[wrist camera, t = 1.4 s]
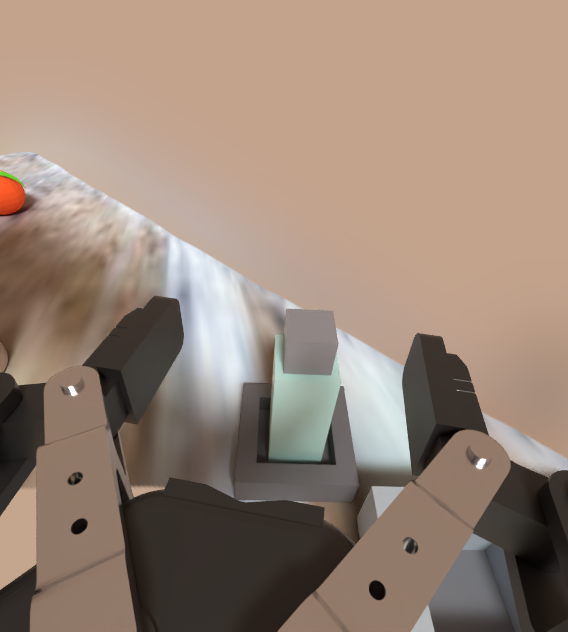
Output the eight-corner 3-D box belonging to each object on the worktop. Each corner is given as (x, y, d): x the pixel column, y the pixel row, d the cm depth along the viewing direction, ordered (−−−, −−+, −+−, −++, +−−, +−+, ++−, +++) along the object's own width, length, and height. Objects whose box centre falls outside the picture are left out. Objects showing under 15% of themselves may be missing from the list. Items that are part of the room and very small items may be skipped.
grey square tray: (234, 499, 30) (234, 482, 28) (243, 401, 38) (243, 382, 36) (352, 502, 31) (359, 485, 29) (338, 405, 38) (343, 386, 36)
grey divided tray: (389, 747, 21) (421, 746, 17) (356, 517, 30) (372, 484, 26) (728, 744, 22) (830, 742, 18) (596, 522, 31) (645, 491, 27)
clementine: (45, 205, 67) (30, 164, 62) (25, 223, 61) (7, 180, 57) (-2, 202, 66) (-20, 161, 62) (-26, 220, 61) (-48, 177, 56)
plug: (268, 463, 32) (277, 348, 23) (269, 419, 35) (277, 302, 26) (319, 465, 32) (349, 351, 23) (316, 420, 35) (340, 305, 26)
